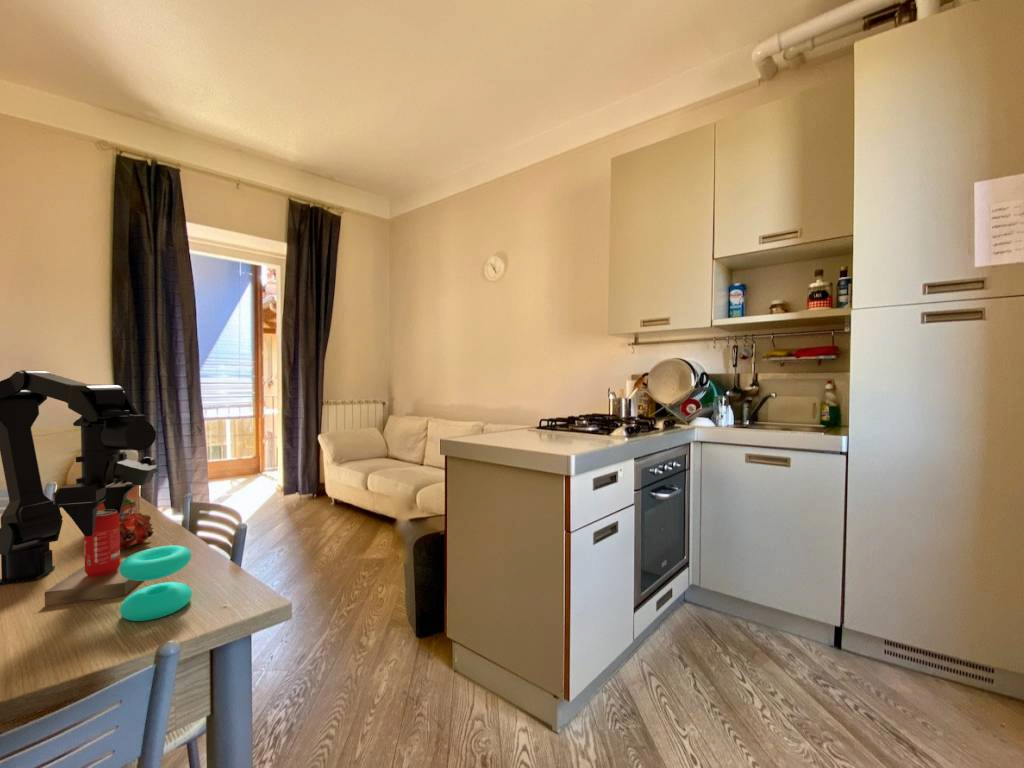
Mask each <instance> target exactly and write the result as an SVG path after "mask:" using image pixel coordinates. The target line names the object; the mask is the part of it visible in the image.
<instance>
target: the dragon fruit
mask: <svg viewBox="0 0 1024 768" xmlns="http://www.w3.org/2000/svg"><path fill="white" fill-rule="evenodd" d="M150 520H151V516H150V515H149V514H143V513H142V512H141V511H140V512H135V513H132V514H130V513H125V514H123V515H122V517H121V518H119V534H120V550H126V549H129V548H131V547H132V546H133V545H135V546H136V545H141V544H143V543H145V541H146V540H148V538H150V537H152V536H153V534H154V532H155V531H153V529H154V527H153V524H152V523H151V522H150Z"/></svg>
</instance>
